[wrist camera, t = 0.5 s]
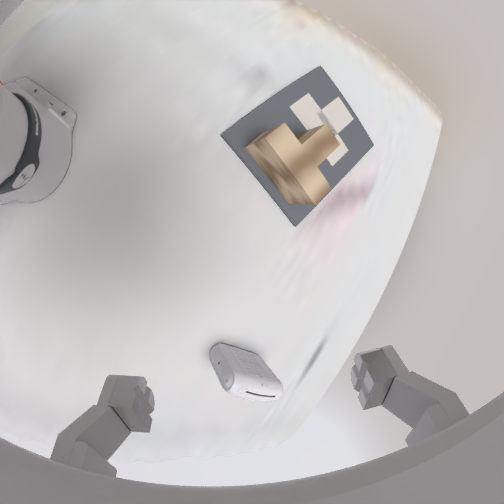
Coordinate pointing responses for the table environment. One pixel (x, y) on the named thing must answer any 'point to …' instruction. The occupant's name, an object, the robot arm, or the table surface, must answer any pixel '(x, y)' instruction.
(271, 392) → the photo printer
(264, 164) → the maple T-block
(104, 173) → the table surface
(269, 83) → the table surface
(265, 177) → the slate mat
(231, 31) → the table surface
